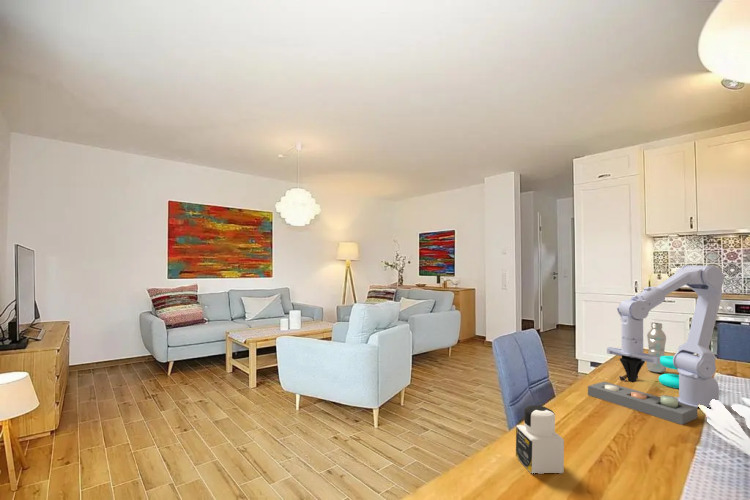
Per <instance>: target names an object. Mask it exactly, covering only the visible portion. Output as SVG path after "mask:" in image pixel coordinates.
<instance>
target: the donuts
mask: <svg viewBox="0 0 750 500" xmlns="http://www.w3.org/2000/svg"><path fill="white" fill-rule="evenodd" d="M673 357H674V355H665V356H661V357H660V364H661V365H663V366H665V367H666V369H671V370H677V368H676V367H675V366H674V364H673ZM658 381H659V383H660V384H661V385H663V386H665V387H669V388H673V389H677V390H679V374H677V373H663V374H662V373H661V374H660V375H659V376H658Z"/></svg>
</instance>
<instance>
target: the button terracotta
mask: <svg viewBox="0 0 750 500" xmlns="http://www.w3.org/2000/svg"><path fill="white" fill-rule="evenodd" d="M631 396H632V397H636V398H639V399H643V400H645V399H647V395H645V394H643V393H638V392H631Z"/></svg>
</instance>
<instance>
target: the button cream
mask: <svg viewBox="0 0 750 500" xmlns="http://www.w3.org/2000/svg"><path fill="white" fill-rule="evenodd" d="M605 389H608V390H612V391H615V392H616V391H619V387H617V386H614V385H605Z"/></svg>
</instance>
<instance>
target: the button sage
mask: <svg viewBox="0 0 750 500" xmlns="http://www.w3.org/2000/svg"><path fill="white" fill-rule="evenodd" d="M660 397H661V405H663V406H667V407H670V408H674V409H677V408H678V399H677V398H675V397H676V396H673V395H672V396H671V395H668V394H667V395H666V394H663V395H660Z"/></svg>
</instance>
